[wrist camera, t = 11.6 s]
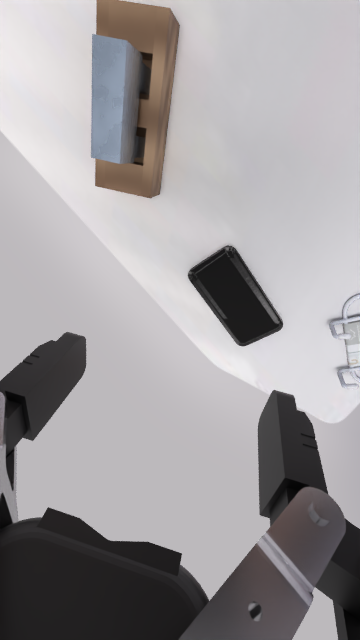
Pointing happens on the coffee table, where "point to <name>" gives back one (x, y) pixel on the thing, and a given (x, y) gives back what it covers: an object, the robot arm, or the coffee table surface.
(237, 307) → the phone
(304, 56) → the coffee table surface
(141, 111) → the two-pocket wooden block
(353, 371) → the silver thin wire frame
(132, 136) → the brushed steel block
